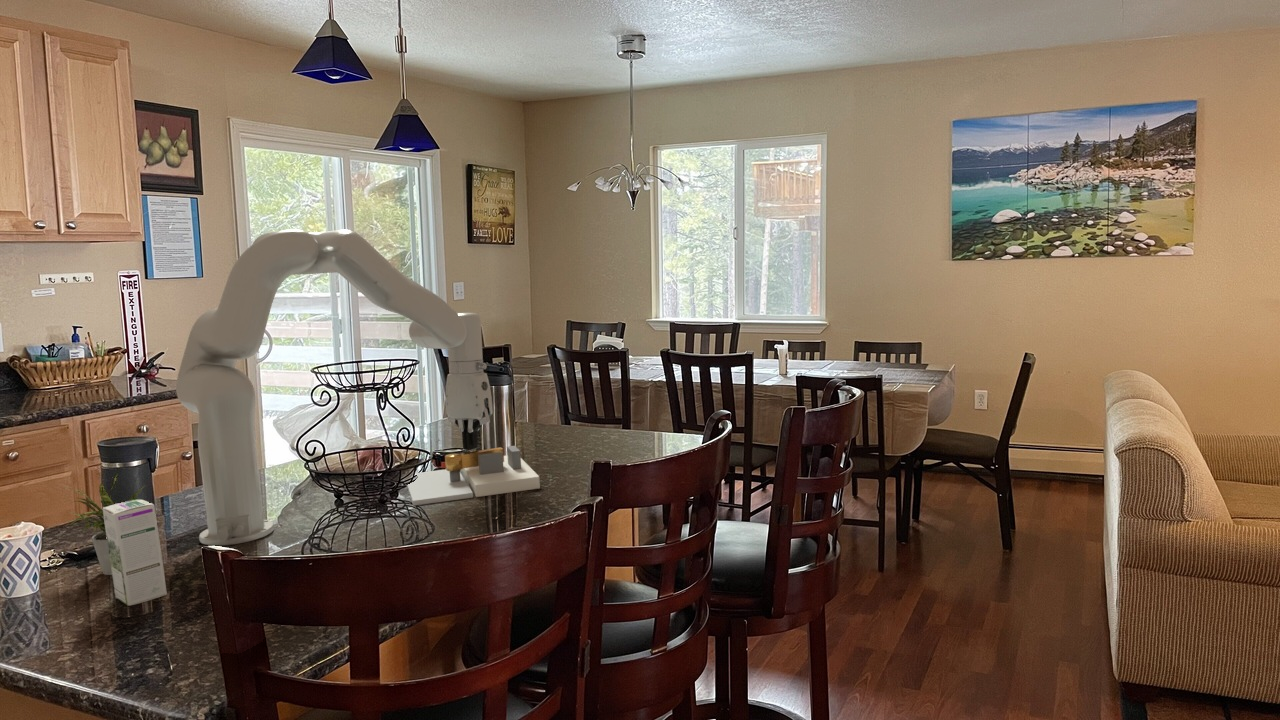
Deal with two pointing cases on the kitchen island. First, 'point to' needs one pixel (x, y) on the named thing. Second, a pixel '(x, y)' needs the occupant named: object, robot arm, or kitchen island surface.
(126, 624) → the kitchen island surface
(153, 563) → the syrup box
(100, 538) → the house plant
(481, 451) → the latch bar
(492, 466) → the door mock-up
